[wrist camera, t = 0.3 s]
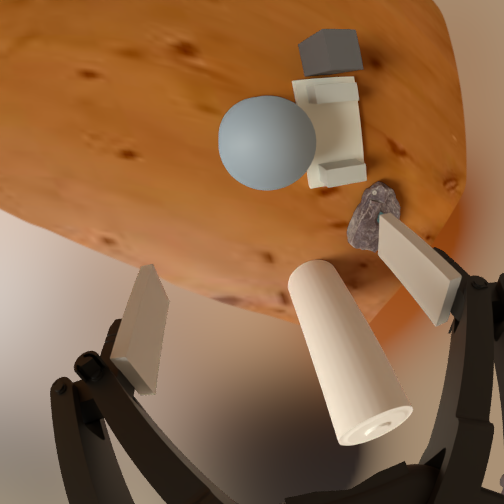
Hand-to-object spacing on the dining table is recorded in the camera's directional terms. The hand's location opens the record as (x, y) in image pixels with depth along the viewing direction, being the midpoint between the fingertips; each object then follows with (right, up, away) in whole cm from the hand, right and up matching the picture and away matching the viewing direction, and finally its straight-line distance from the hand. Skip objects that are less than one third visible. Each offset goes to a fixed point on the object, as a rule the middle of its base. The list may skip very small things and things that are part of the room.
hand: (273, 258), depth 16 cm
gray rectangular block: (+8, +27, +16) cm, 32 cm away
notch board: (+10, +18, +22) cm, 30 cm away
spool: (0, +16, +21) cm, 27 cm away
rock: (+19, +7, +30) cm, 36 cm away
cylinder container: (+10, -5, +35) cm, 37 cm away
